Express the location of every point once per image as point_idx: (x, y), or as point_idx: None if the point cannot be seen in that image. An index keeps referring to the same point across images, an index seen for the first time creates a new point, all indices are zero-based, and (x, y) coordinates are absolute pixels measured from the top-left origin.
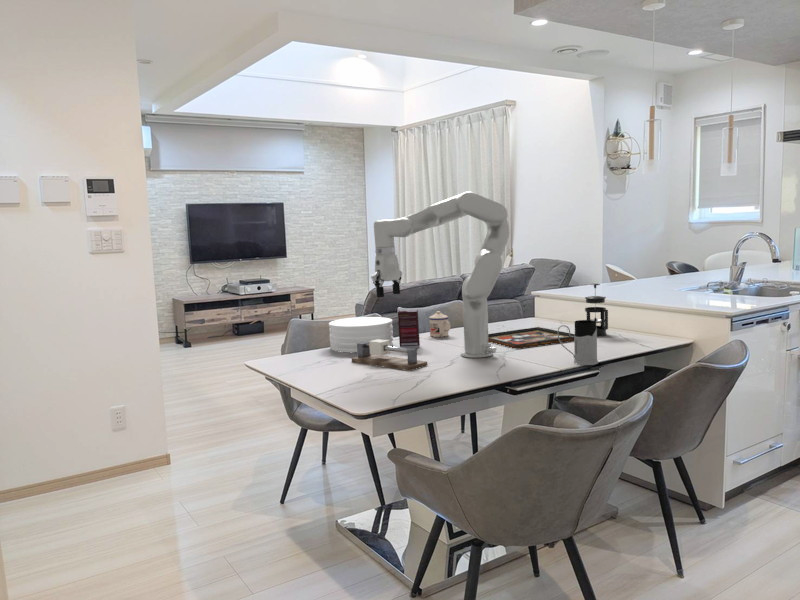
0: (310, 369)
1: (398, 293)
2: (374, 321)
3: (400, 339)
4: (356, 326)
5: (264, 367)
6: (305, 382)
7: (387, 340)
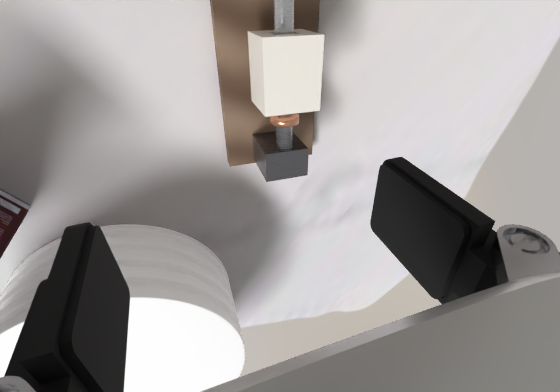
0: (418, 159)
1: (99, 227)
2: None
3: (13, 225)
4: (211, 310)
5: None
6: (536, 45)
7: (268, 46)
